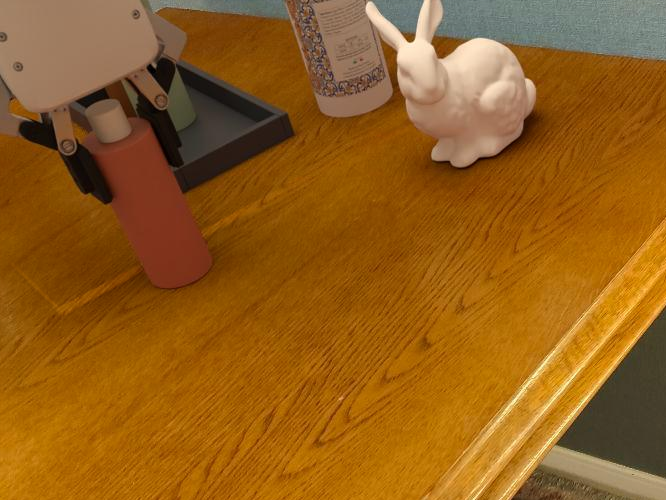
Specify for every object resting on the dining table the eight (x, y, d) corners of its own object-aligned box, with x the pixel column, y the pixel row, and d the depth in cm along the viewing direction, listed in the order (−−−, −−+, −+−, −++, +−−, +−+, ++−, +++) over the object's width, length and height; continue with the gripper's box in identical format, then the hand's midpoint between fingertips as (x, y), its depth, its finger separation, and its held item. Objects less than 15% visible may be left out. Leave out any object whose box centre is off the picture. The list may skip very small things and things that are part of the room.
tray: (185, 202, 85) (171, 171, 83) (75, 128, 98) (61, 100, 96) (298, 142, 89) (287, 112, 87) (178, 79, 102) (166, 51, 100)
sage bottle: (159, 141, 91) (89, -9, 82) (135, 127, 94) (66, -20, 85) (205, 118, 93) (143, -32, 83) (181, 104, 96) (118, -42, 86)
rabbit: (446, 187, 80) (409, 33, 71) (384, 152, 85) (342, 4, 76) (562, 124, 84) (540, -30, 75) (495, 94, 89) (468, -53, 80)
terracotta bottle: (167, 296, 75) (83, 132, 66) (139, 273, 78) (54, 113, 69) (224, 265, 77) (150, 100, 67) (194, 243, 80) (119, 82, 70)
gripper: (101, -161, 64) (213, 115, 77) (-164, -64, 58) (9, 217, 71) (153, -148, 59) (262, 142, 73) (-127, -41, 53) (49, 253, 67)
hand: (136, 176), depth 72 cm, fingers closed on terracotta bottle, 5 cm apart
